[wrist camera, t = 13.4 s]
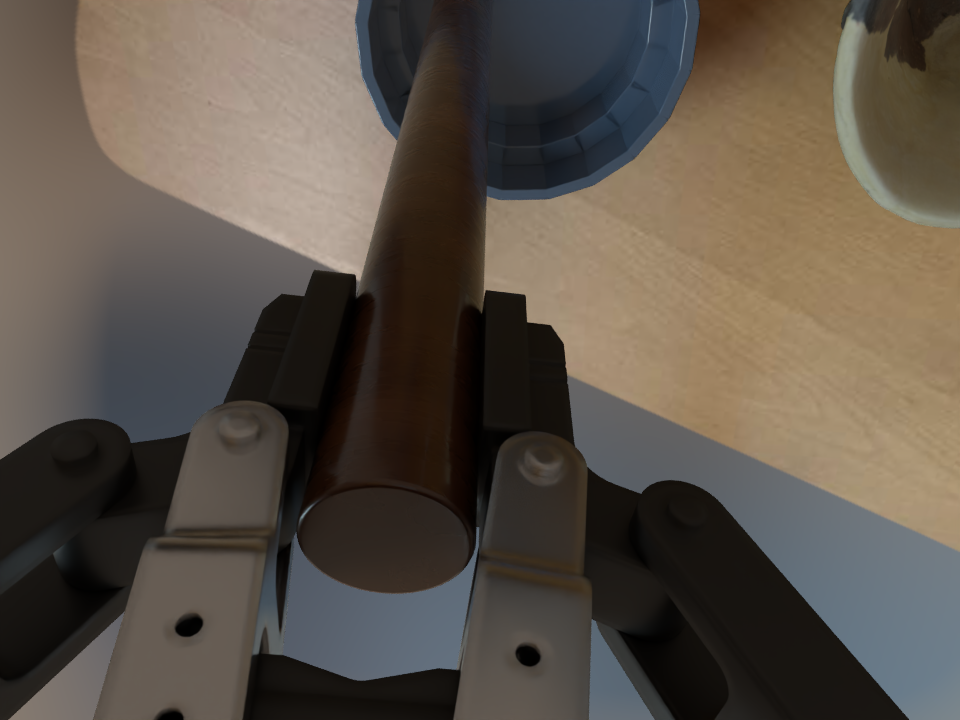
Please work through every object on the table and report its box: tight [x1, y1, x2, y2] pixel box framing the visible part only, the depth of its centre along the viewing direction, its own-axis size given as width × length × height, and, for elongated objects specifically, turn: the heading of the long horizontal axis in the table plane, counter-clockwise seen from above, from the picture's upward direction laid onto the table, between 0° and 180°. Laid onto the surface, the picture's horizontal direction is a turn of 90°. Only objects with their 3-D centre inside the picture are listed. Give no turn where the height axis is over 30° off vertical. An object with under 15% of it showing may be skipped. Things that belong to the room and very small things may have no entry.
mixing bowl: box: [355, 0, 700, 200], centre depth 36 cm, size 15×15×6 cm
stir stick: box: [296, 0, 493, 594], centre depth 22 cm, size 2×2×32 cm
